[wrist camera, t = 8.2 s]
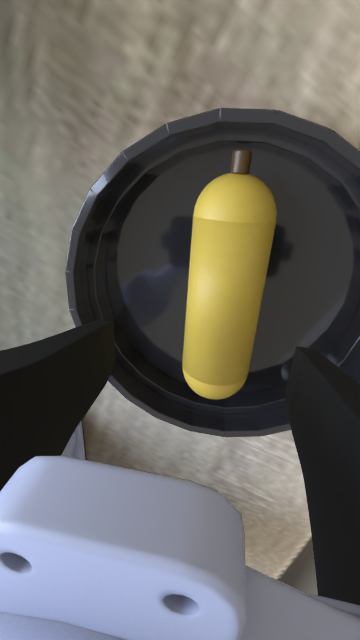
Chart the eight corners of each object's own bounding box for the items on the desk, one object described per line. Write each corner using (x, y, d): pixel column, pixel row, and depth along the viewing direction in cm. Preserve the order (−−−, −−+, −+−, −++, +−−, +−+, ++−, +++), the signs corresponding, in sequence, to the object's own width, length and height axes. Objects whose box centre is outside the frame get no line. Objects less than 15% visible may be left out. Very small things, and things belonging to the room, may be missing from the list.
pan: (333, 417, 22) (350, 459, 19) (101, 380, 25) (79, 411, 21) (433, 132, 15) (493, 115, 11) (85, 119, 17) (47, 102, 14)
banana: (242, 378, 22) (244, 419, 18) (185, 370, 22) (175, 407, 18) (282, 157, 16) (296, 148, 12) (202, 153, 16) (192, 143, 13)
